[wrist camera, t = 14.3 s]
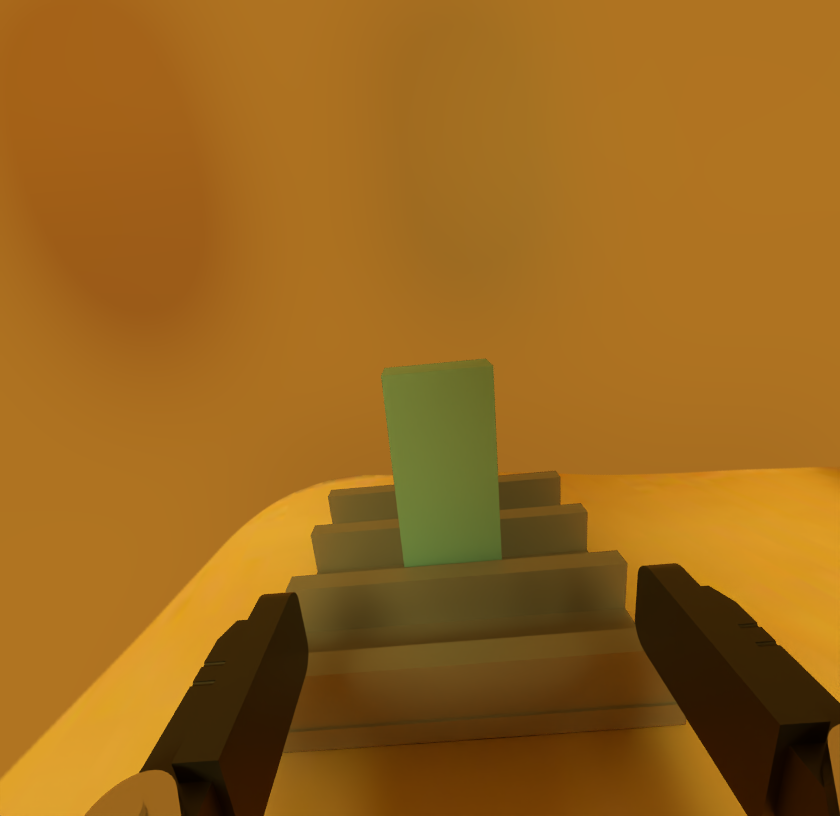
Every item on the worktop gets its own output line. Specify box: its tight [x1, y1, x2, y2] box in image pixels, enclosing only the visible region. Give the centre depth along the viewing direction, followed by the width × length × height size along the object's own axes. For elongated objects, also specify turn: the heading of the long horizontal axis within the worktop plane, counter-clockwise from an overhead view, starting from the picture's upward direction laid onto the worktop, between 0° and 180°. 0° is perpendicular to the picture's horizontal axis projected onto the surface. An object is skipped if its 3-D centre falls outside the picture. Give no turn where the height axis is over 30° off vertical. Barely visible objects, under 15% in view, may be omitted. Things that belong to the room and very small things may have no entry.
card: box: [381, 359, 502, 568], centre depth 21 cm, size 5×2×12 cm, turn 91°
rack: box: [283, 471, 686, 753], centre depth 22 cm, size 16×15×4 cm
